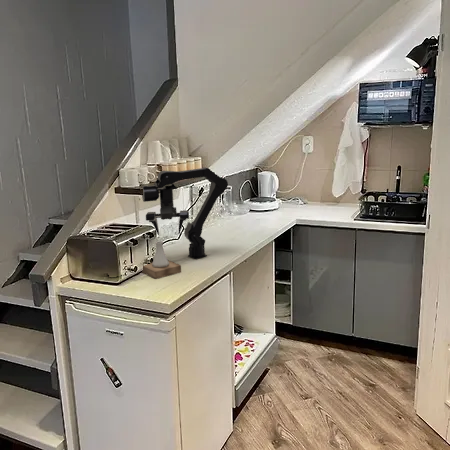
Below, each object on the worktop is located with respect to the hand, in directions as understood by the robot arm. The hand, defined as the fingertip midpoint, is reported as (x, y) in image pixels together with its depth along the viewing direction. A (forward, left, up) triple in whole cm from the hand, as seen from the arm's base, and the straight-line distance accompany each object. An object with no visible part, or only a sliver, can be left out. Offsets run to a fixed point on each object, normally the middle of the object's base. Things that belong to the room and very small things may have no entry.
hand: (168, 234), depth 203 cm
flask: (+12, +12, -9) cm, 19 cm away
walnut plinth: (+12, +12, -12) cm, 21 cm away
